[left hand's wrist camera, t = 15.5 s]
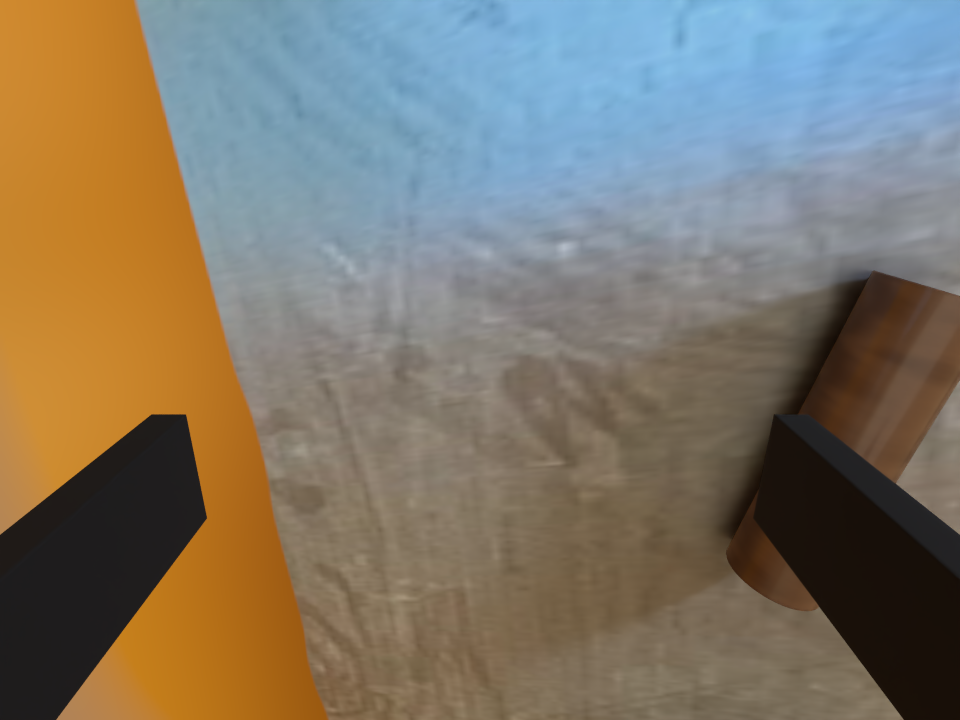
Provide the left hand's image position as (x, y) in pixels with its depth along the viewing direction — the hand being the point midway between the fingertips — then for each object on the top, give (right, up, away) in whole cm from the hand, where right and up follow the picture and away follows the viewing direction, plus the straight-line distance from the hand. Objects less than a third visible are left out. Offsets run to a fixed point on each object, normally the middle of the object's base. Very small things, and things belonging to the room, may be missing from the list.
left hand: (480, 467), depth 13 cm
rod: (+28, -3, +34) cm, 44 cm away
